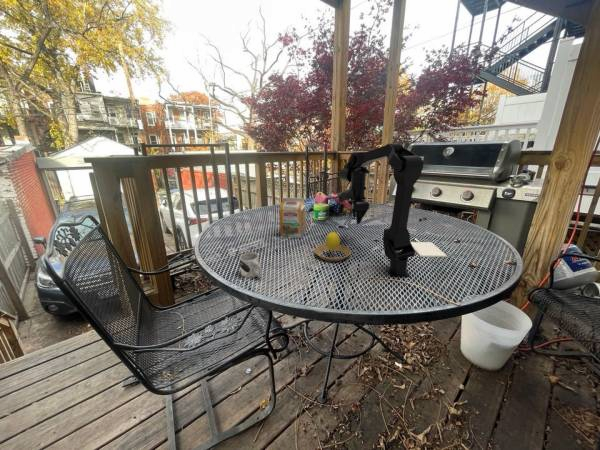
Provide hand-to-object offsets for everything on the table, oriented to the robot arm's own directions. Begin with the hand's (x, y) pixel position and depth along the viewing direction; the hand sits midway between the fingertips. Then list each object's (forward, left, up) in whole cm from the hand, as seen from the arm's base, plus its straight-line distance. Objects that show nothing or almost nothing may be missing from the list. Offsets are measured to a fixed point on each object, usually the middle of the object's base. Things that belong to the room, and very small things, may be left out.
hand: (356, 220), depth 108 cm
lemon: (-9, +10, -10) cm, 17 cm away
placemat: (-3, -30, -12) cm, 32 cm away
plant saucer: (-9, +10, -13) cm, 19 cm away
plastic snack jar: (+15, +28, -12) cm, 34 cm away
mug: (-26, +39, -12) cm, 49 cm away
